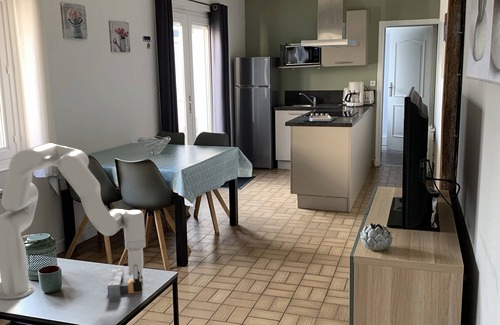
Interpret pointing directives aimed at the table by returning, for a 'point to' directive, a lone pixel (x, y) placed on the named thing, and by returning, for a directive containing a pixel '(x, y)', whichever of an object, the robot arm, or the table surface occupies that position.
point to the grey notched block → (116, 284)
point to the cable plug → (128, 287)
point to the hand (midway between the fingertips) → (138, 288)
